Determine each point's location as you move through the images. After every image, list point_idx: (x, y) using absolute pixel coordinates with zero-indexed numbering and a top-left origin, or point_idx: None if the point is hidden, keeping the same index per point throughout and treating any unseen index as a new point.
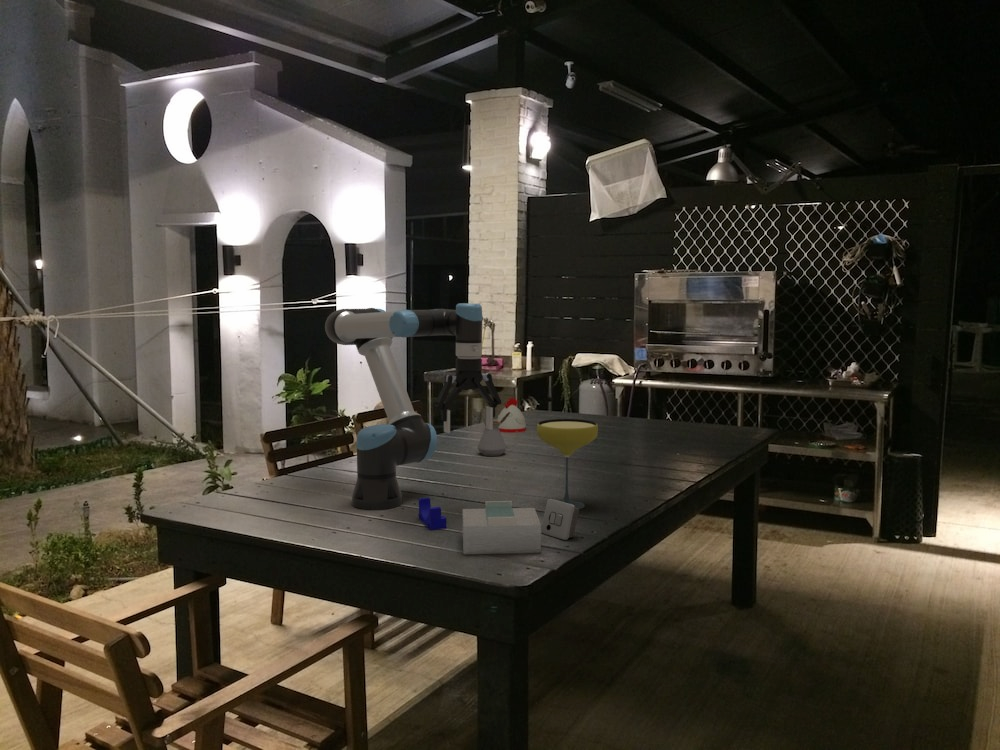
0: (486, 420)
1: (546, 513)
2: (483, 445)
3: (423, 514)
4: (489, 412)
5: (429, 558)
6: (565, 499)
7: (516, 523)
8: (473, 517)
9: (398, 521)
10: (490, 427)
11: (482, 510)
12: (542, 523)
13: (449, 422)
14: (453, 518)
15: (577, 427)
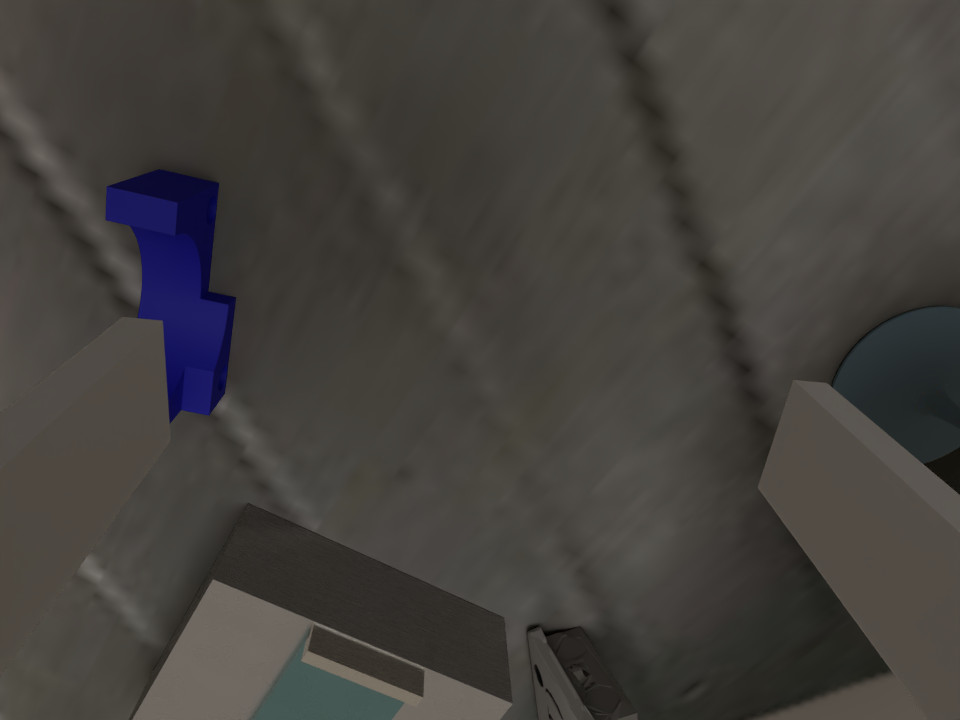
0: (851, 443)
1: (557, 695)
2: None
3: (147, 246)
4: (901, 637)
5: (23, 650)
6: (926, 408)
7: None
8: (199, 696)
9: (34, 156)
10: (773, 504)
11: (287, 637)
12: (539, 653)
13: (92, 533)
14: (328, 272)
15: None
